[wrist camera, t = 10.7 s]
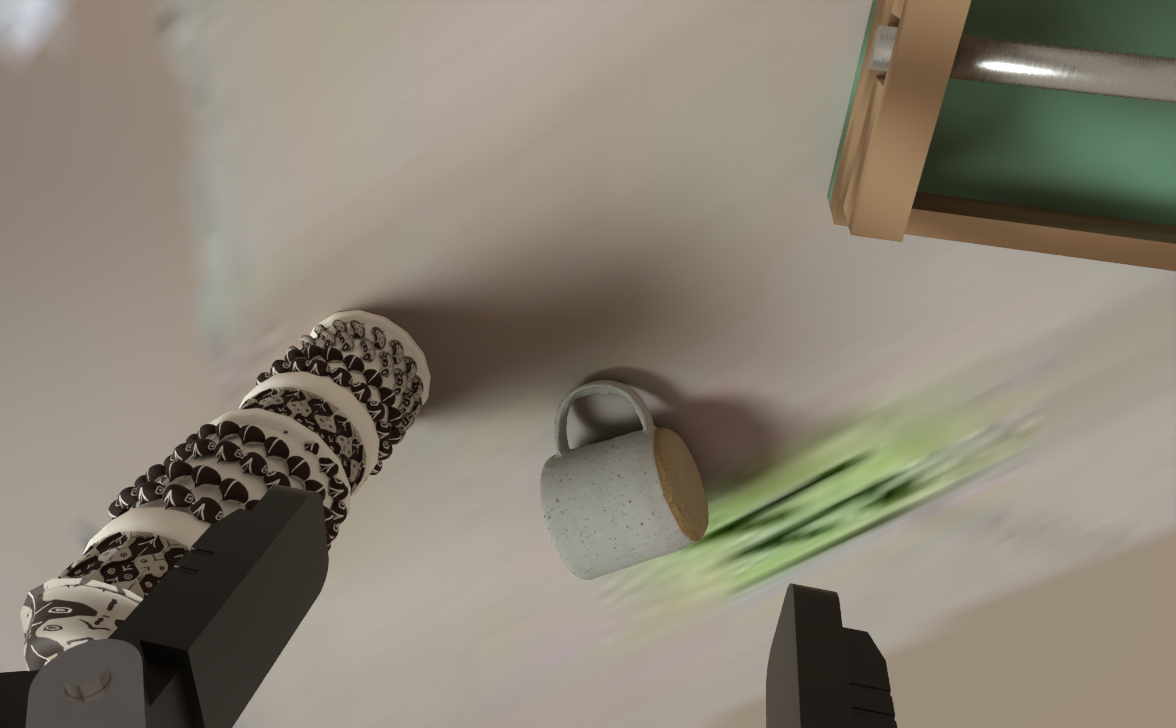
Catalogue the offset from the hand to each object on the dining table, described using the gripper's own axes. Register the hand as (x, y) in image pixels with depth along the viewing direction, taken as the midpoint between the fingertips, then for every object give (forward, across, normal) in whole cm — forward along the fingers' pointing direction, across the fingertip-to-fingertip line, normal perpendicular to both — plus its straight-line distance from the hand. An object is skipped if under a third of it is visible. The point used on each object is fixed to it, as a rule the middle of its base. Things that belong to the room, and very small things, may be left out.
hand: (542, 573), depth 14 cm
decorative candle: (+32, +18, +17) cm, 41 cm away
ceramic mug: (+32, +1, +20) cm, 38 cm away
